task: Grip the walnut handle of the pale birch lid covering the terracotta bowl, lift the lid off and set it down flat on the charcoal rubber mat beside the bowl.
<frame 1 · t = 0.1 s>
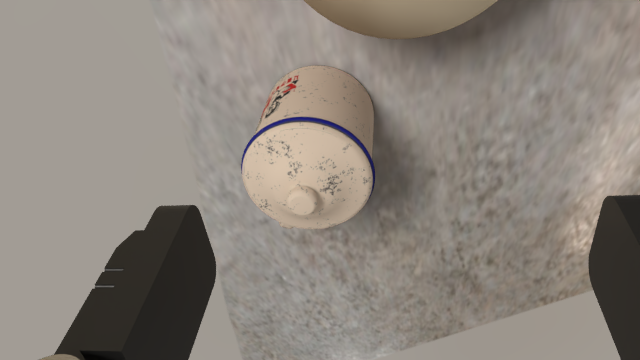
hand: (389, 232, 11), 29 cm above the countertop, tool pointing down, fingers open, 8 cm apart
teacup with lid: (315, 126, 43), on the countertop
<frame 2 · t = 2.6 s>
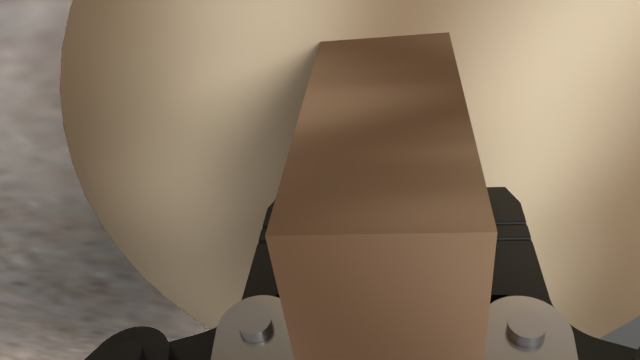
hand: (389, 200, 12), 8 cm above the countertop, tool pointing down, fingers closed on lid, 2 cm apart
lid: (390, 161, 13), point 6 cm above the countertop, touching bowl, gripper
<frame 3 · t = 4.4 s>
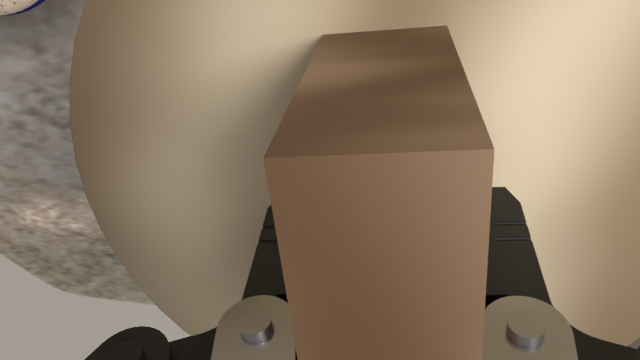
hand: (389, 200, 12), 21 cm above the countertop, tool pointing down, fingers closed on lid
lid: (391, 166, 13), point 19 cm above the countertop, tilted 8°, touching gripper
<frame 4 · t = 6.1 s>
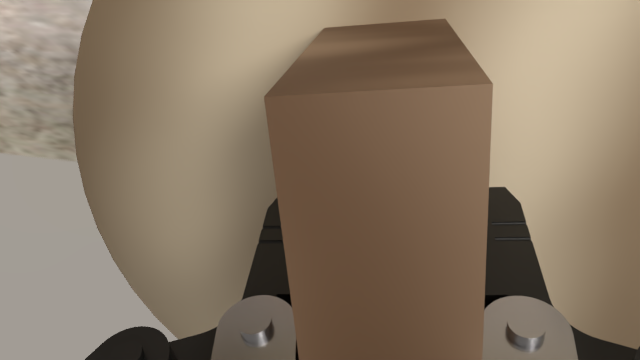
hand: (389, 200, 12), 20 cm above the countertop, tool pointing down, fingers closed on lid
lid: (390, 166, 13), point 19 cm above the countertop, tilted 14°, touching gripper
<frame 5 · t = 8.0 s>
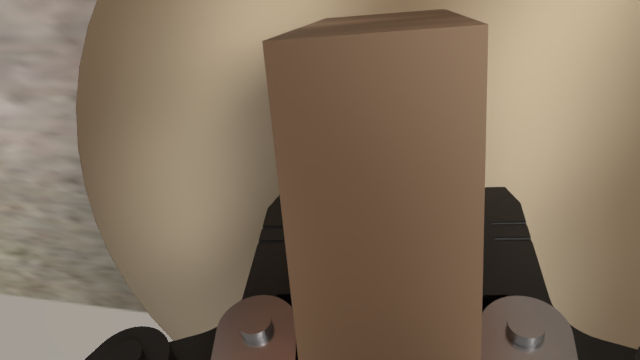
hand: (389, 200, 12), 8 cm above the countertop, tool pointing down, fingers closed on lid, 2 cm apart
lid: (390, 162, 13), point 6 cm above the countertop, tilted 18°, touching gripper
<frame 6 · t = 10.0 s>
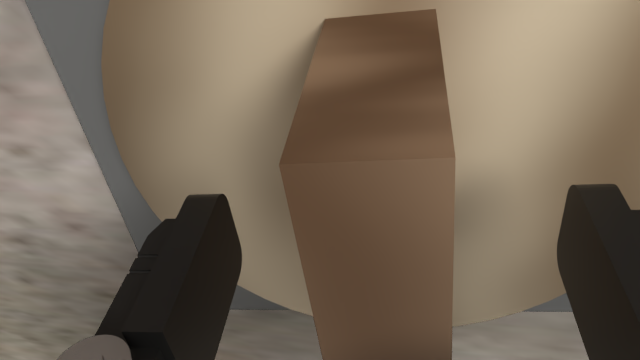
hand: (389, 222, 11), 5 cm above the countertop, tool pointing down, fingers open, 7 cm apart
mat: (389, 108, 15), on the countertop
lid: (389, 126, 14), point 1 cm above the countertop, touching mat
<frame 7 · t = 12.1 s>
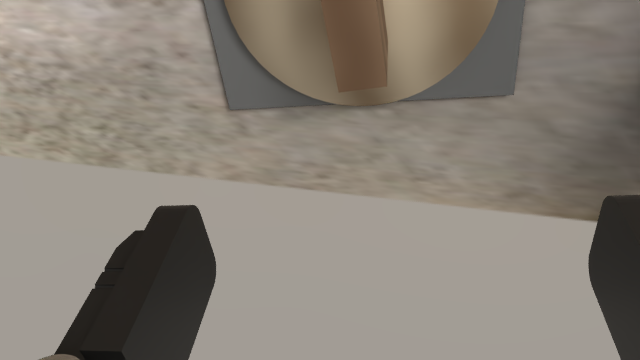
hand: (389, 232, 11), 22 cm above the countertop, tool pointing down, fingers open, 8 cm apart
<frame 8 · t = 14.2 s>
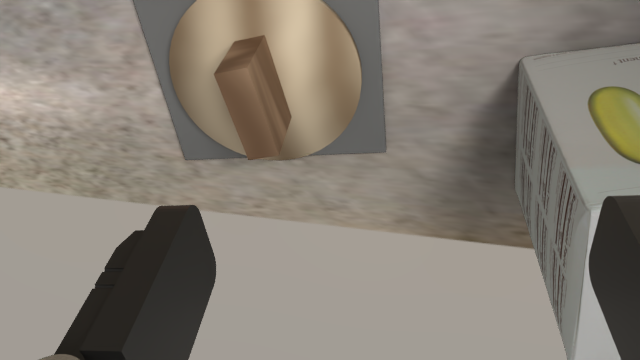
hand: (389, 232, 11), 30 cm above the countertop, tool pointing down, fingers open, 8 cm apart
mat: (268, 69, 42), on the countertop
lid: (266, 74, 42), point 1 cm above the countertop, touching mat
supplement box: (628, 115, 42), on the countertop
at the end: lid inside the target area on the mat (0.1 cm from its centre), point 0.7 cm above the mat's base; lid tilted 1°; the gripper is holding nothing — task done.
